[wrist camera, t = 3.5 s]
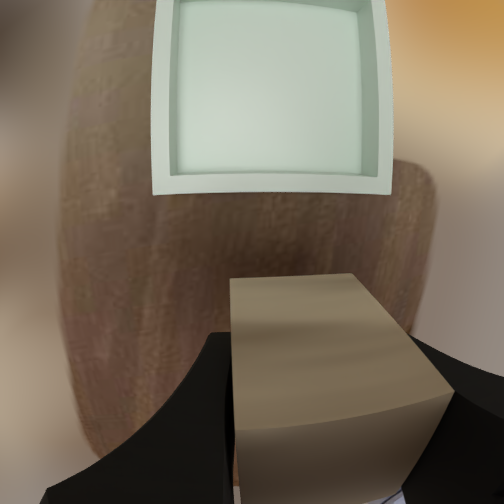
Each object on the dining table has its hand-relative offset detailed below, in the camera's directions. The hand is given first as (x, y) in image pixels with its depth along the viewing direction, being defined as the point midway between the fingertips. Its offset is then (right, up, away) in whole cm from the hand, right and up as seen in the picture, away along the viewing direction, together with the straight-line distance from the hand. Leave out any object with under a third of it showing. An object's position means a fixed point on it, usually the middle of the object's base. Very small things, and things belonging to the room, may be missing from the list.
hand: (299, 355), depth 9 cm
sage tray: (0, +12, +5) cm, 13 cm away
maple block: (0, +1, +1) cm, 2 cm away
